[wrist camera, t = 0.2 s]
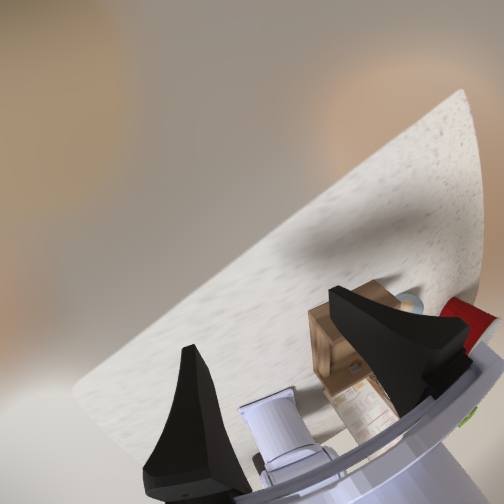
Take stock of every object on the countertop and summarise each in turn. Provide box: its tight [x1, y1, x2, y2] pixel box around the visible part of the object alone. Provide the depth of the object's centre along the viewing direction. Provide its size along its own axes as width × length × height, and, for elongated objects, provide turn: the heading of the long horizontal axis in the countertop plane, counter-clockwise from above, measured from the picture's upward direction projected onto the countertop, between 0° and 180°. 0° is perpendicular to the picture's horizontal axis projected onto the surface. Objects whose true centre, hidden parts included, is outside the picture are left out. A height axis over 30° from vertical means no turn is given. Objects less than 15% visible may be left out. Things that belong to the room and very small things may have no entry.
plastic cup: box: [440, 297, 501, 356], centre depth 38 cm, size 11×11×12 cm
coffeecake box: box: [323, 376, 409, 461], centre depth 33 cm, size 15×7×20 cm, turn 39°
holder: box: [308, 280, 402, 397], centre depth 29 cm, size 12×9×5 cm
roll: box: [395, 293, 424, 315], centre depth 32 cm, size 8×5×5 cm, turn 13°
